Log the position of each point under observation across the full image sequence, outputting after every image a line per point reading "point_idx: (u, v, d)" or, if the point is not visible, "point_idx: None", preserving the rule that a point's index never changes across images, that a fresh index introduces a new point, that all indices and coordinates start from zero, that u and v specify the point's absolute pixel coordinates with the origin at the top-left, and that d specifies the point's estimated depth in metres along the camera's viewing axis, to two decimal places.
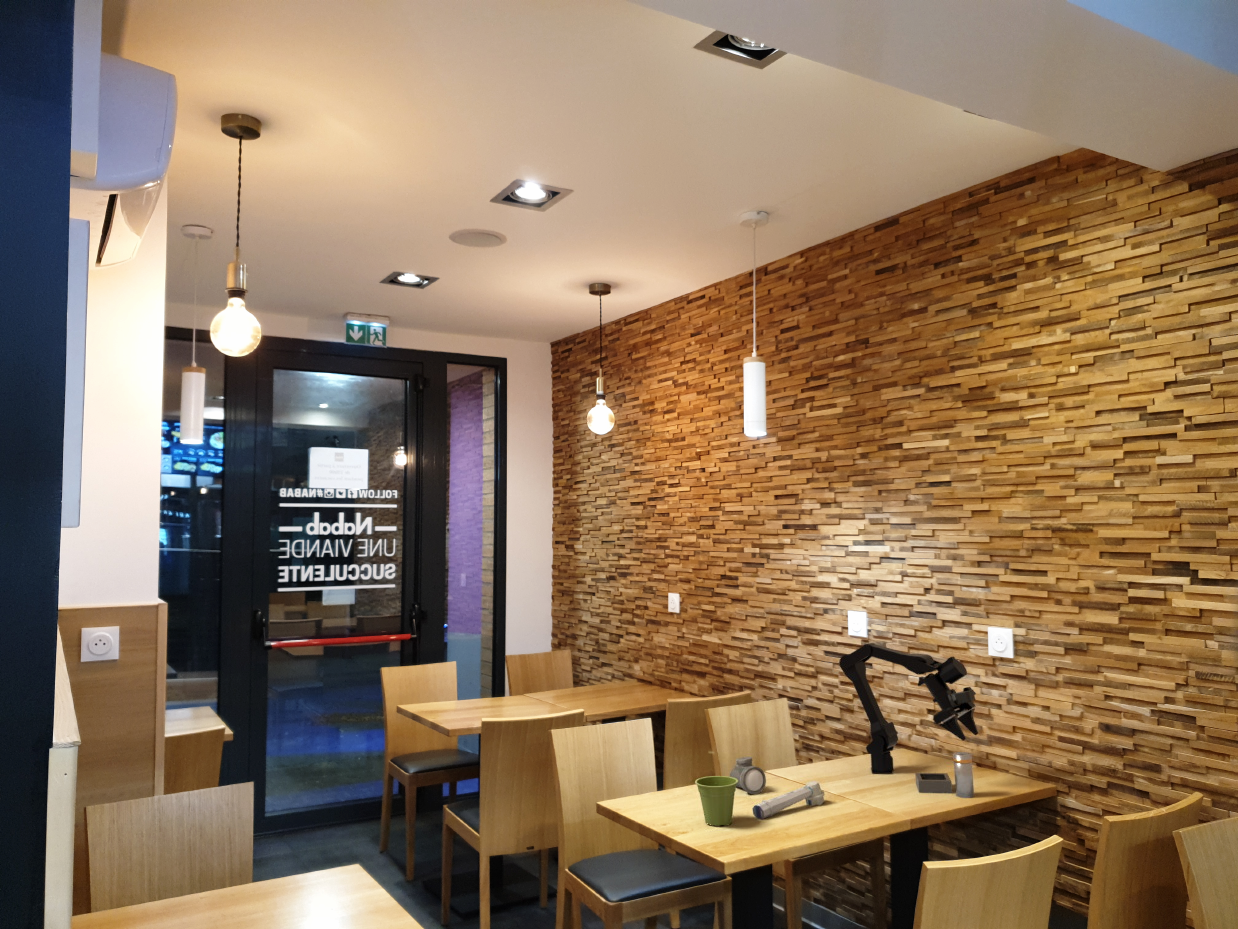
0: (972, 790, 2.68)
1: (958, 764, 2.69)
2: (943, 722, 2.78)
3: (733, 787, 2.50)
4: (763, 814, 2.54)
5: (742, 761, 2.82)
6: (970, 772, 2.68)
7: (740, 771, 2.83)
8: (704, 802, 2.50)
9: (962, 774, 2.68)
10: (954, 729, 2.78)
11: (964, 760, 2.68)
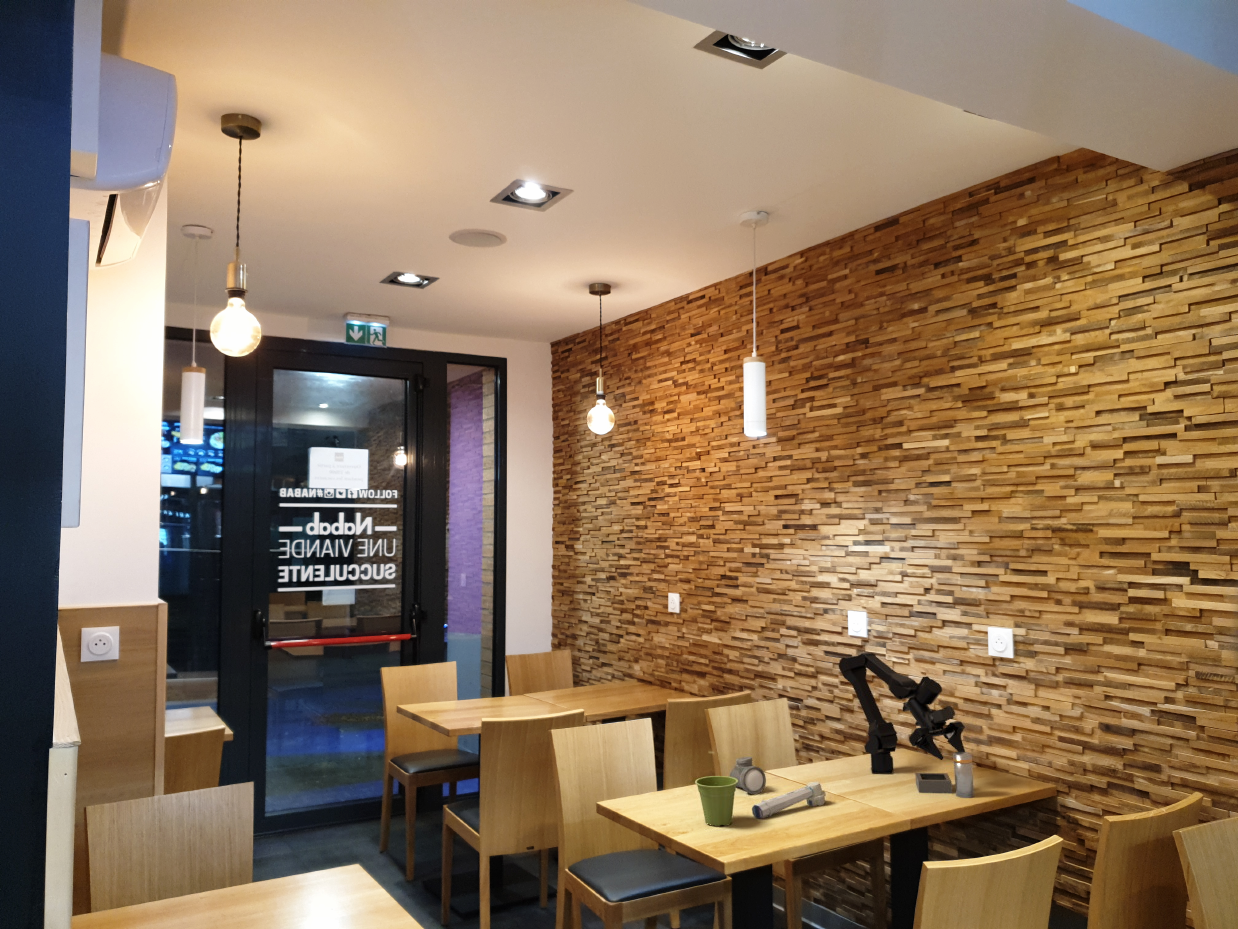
0: (972, 790, 2.68)
1: (958, 764, 2.69)
2: (918, 743, 2.75)
3: (733, 787, 2.50)
4: (762, 814, 2.54)
5: (742, 761, 2.82)
6: (970, 772, 2.68)
7: (740, 771, 2.83)
8: (704, 802, 2.50)
9: (962, 774, 2.68)
10: (931, 750, 2.74)
11: (964, 760, 2.68)
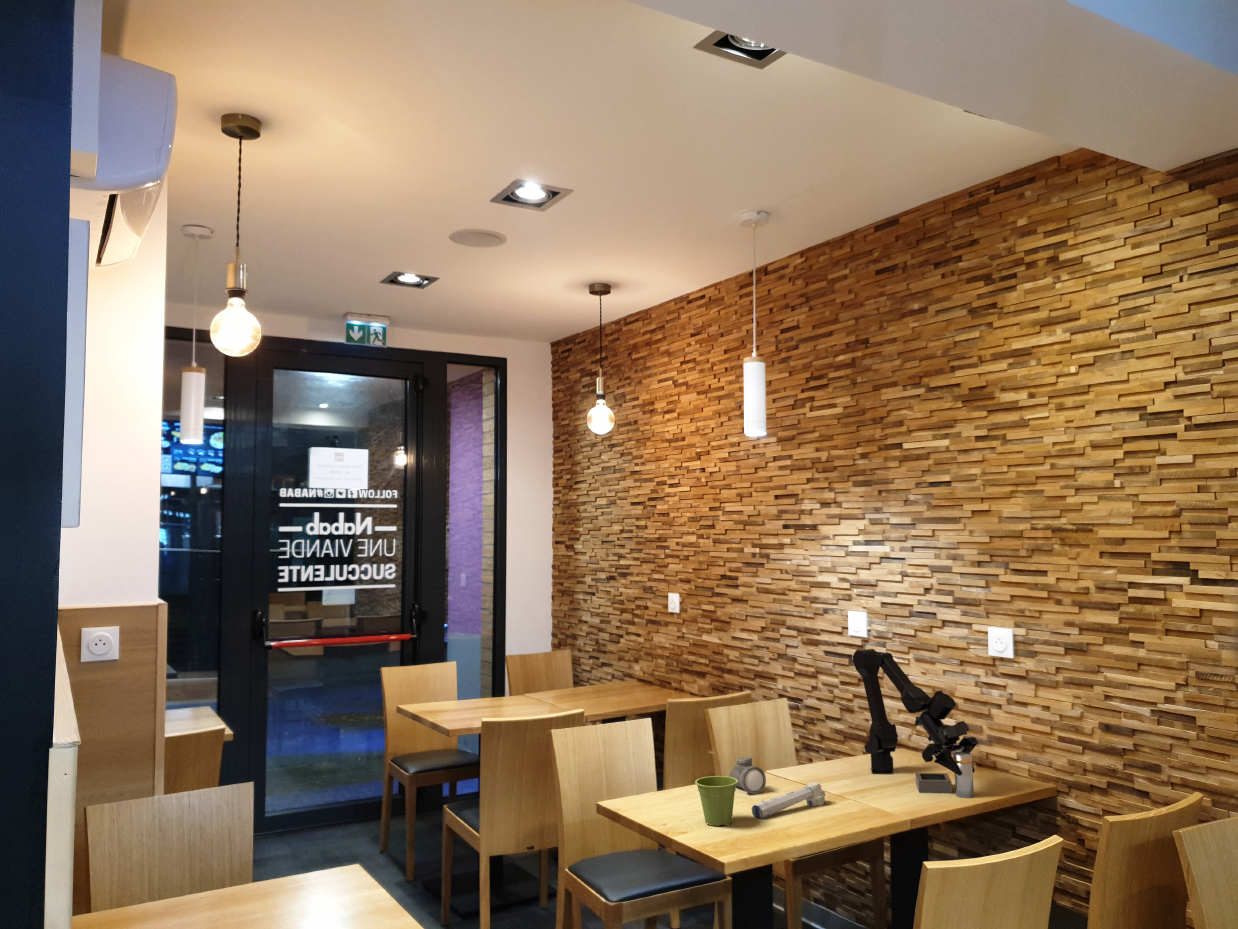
0: (972, 790, 2.68)
1: (958, 764, 2.69)
2: (936, 758, 2.71)
3: (733, 787, 2.50)
4: (762, 814, 2.54)
5: (742, 761, 2.82)
6: (970, 772, 2.68)
7: (740, 771, 2.83)
8: (704, 802, 2.50)
9: (962, 774, 2.68)
10: (949, 765, 2.70)
11: (964, 760, 2.68)
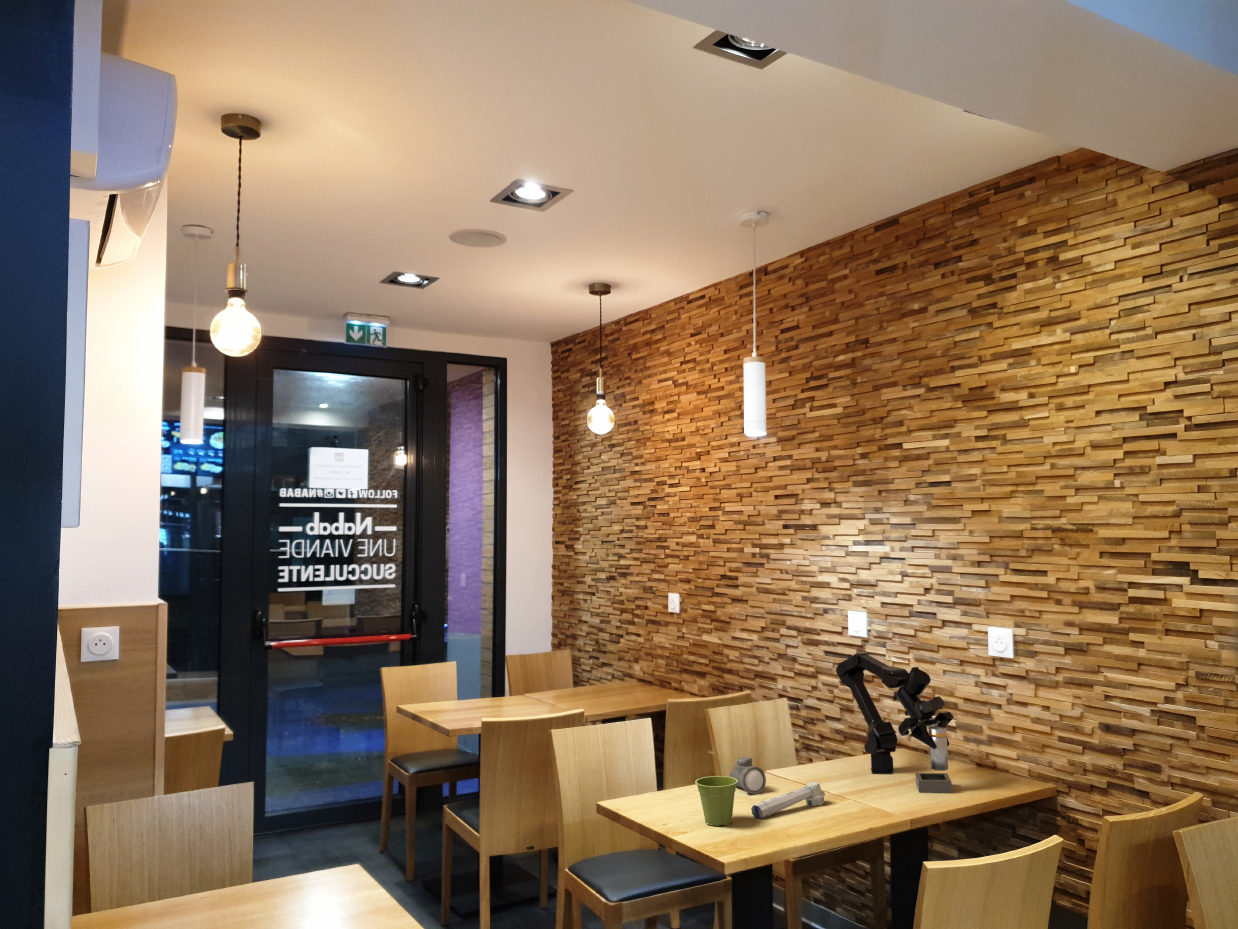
0: (946, 763, 2.75)
1: (933, 737, 2.76)
2: (912, 732, 2.78)
3: (733, 787, 2.50)
4: (762, 814, 2.54)
5: (742, 761, 2.82)
6: (945, 746, 2.75)
7: (740, 771, 2.83)
8: (704, 802, 2.50)
9: (937, 748, 2.75)
10: (924, 739, 2.77)
11: (939, 733, 2.75)
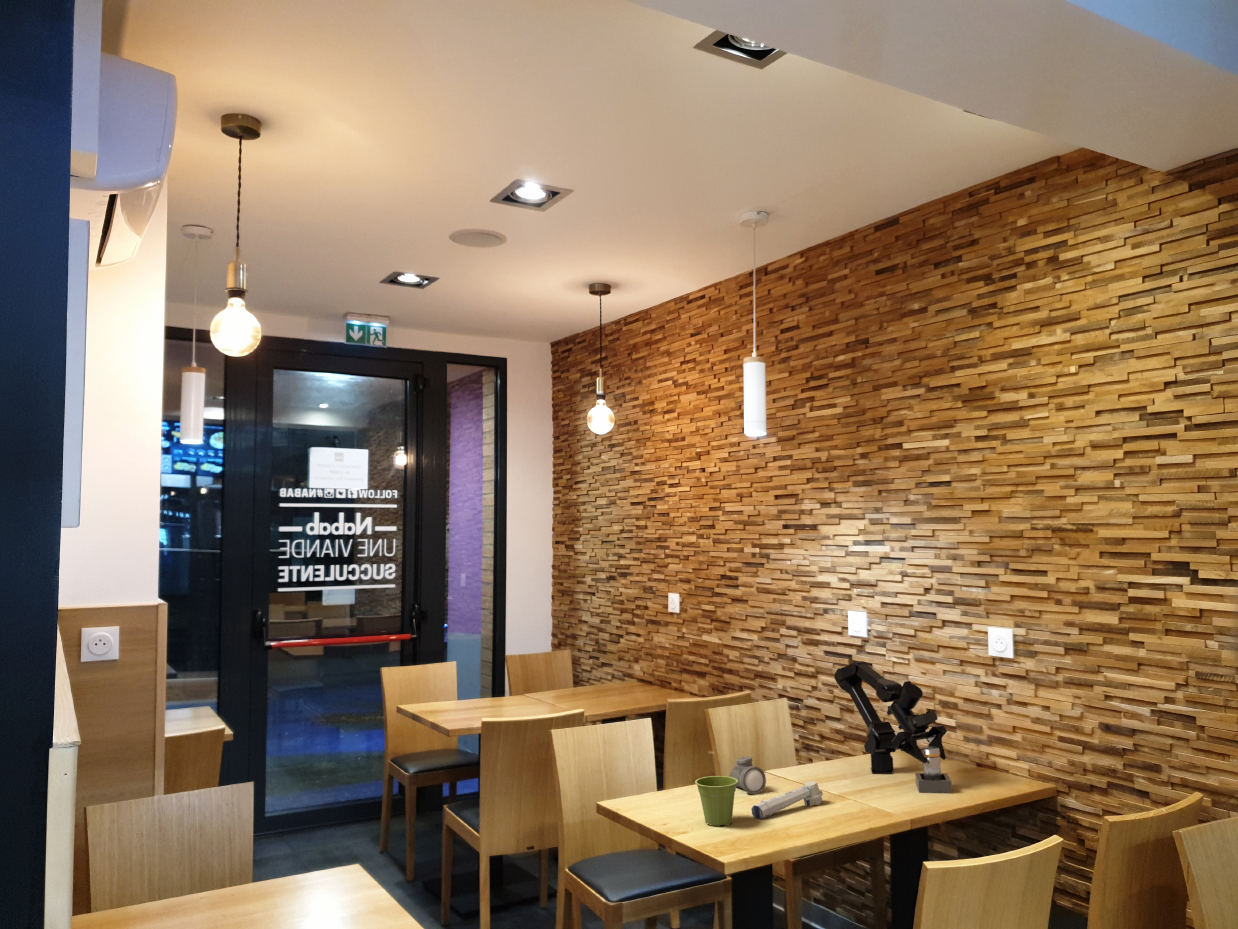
0: None
1: (926, 758, 2.77)
2: (902, 746, 2.79)
3: (733, 787, 2.50)
4: (762, 814, 2.54)
5: (742, 761, 2.82)
6: (938, 766, 2.76)
7: (740, 771, 2.83)
8: (704, 802, 2.50)
9: (930, 768, 2.76)
10: (914, 753, 2.78)
11: (932, 754, 2.76)
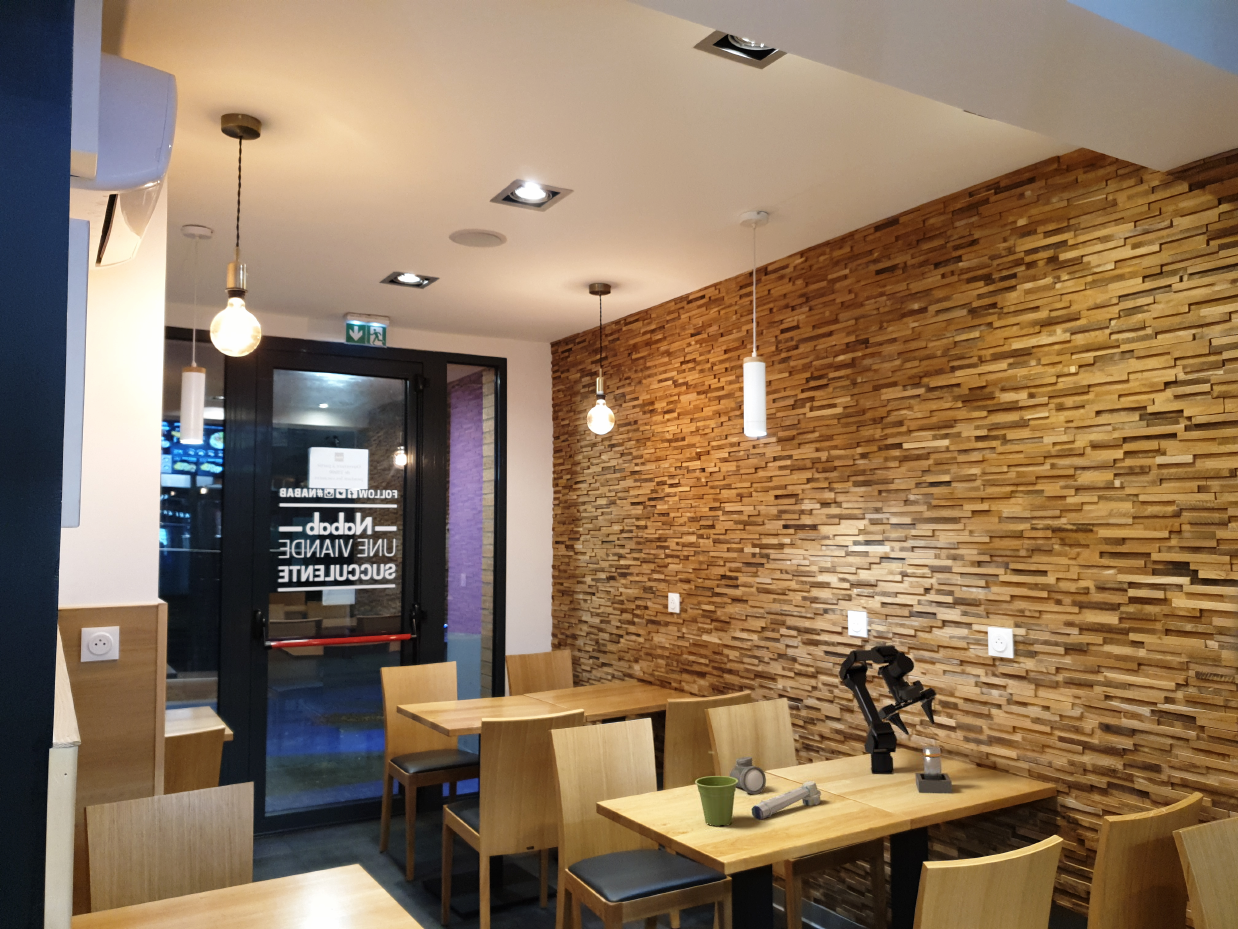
0: None
1: (927, 757, 2.77)
2: None
3: (733, 787, 2.50)
4: (762, 814, 2.53)
5: (742, 761, 2.82)
6: (938, 766, 2.77)
7: (740, 771, 2.83)
8: (704, 802, 2.50)
9: (931, 768, 2.76)
10: (898, 725, 2.86)
11: (933, 754, 2.77)
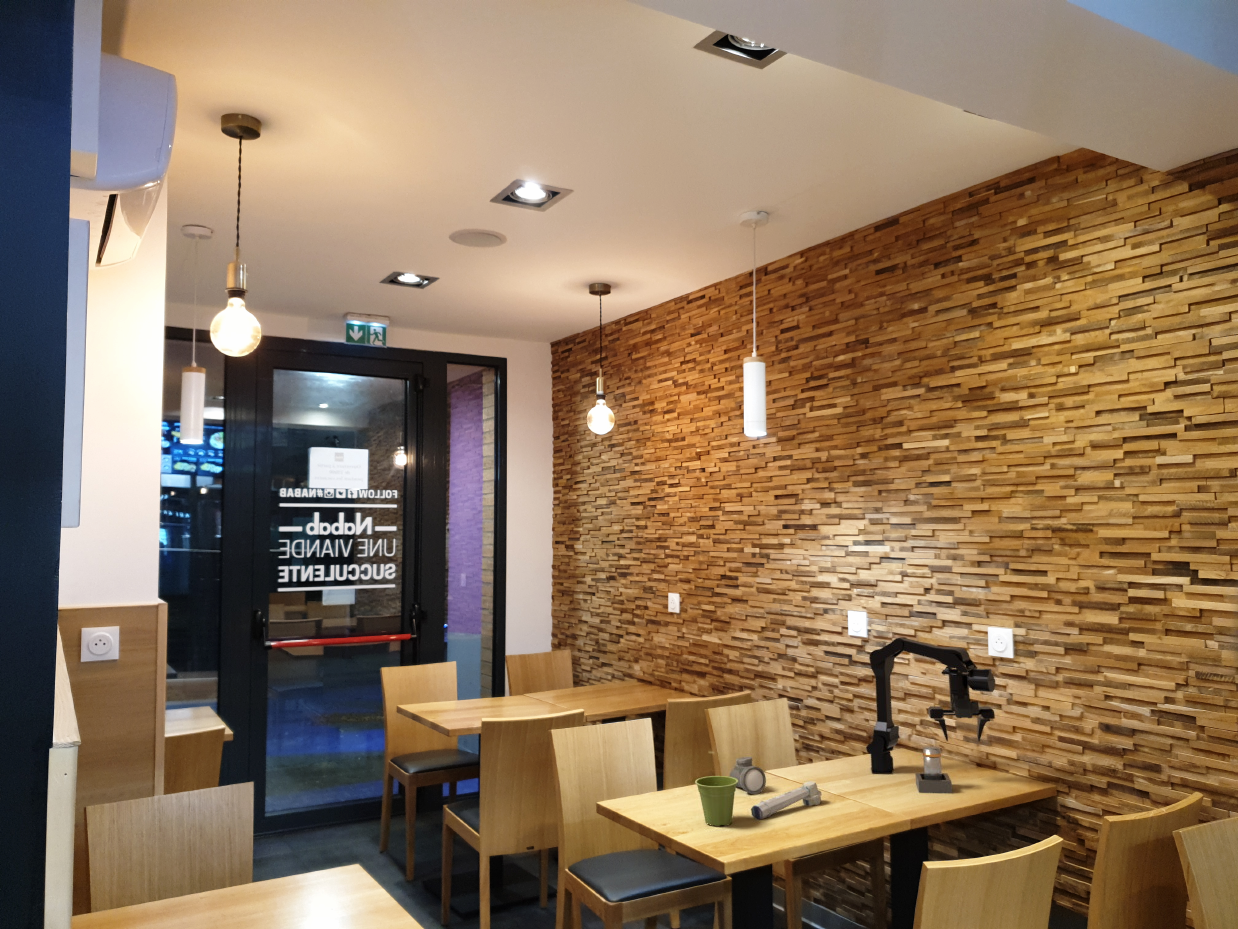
0: None
1: (927, 758, 2.77)
2: None
3: (733, 787, 2.50)
4: (762, 814, 2.53)
5: (742, 761, 2.82)
6: (939, 766, 2.76)
7: (740, 771, 2.83)
8: (704, 802, 2.50)
9: (931, 768, 2.76)
10: (942, 727, 2.85)
11: (933, 754, 2.76)
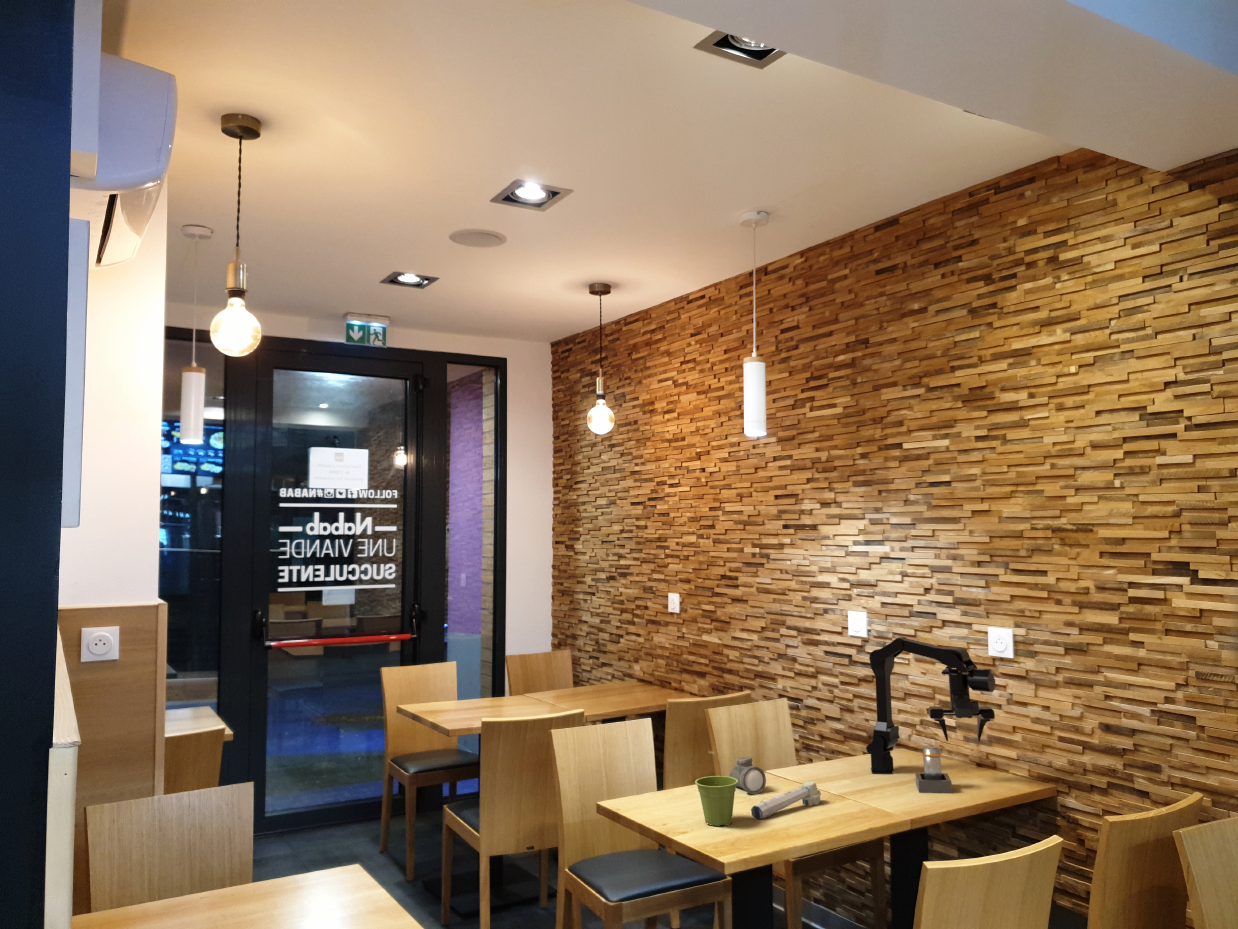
0: None
1: (927, 757, 2.77)
2: None
3: (733, 787, 2.50)
4: (762, 815, 2.53)
5: (742, 761, 2.82)
6: (939, 765, 2.77)
7: (740, 771, 2.83)
8: (704, 802, 2.50)
9: (931, 768, 2.76)
10: (942, 727, 2.85)
11: (933, 753, 2.77)
